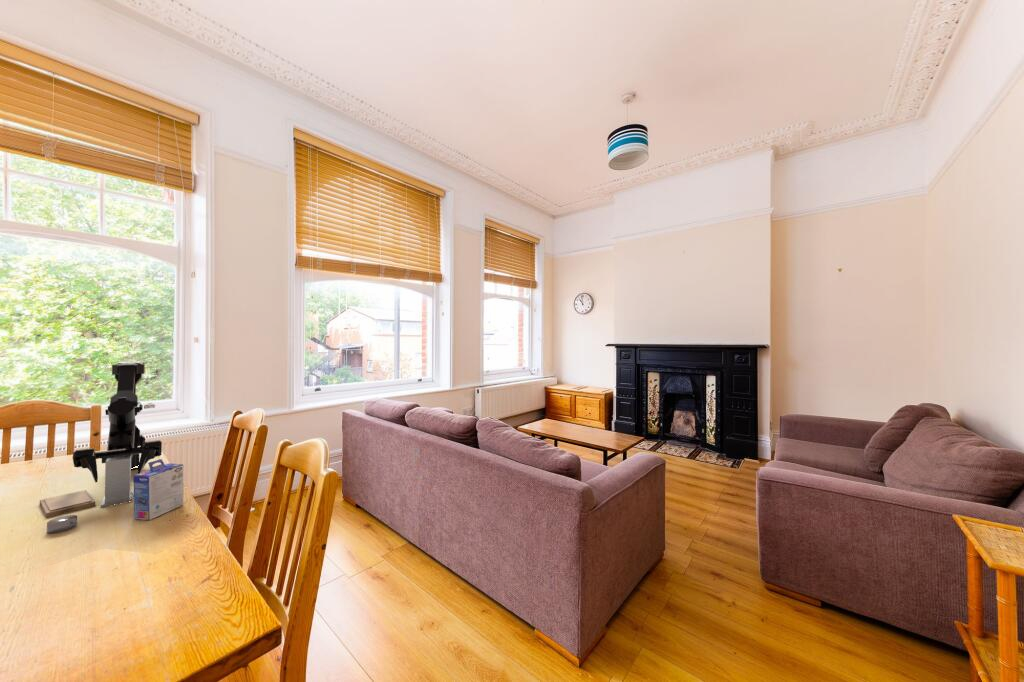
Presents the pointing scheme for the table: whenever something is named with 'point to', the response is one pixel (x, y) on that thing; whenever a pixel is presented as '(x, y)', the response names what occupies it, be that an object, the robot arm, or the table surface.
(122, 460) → the block
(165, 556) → the table surface
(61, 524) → the grey rounded block
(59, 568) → the table surface
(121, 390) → the robot arm
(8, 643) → the table surface
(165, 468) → the ink cartridge box
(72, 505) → the stand
